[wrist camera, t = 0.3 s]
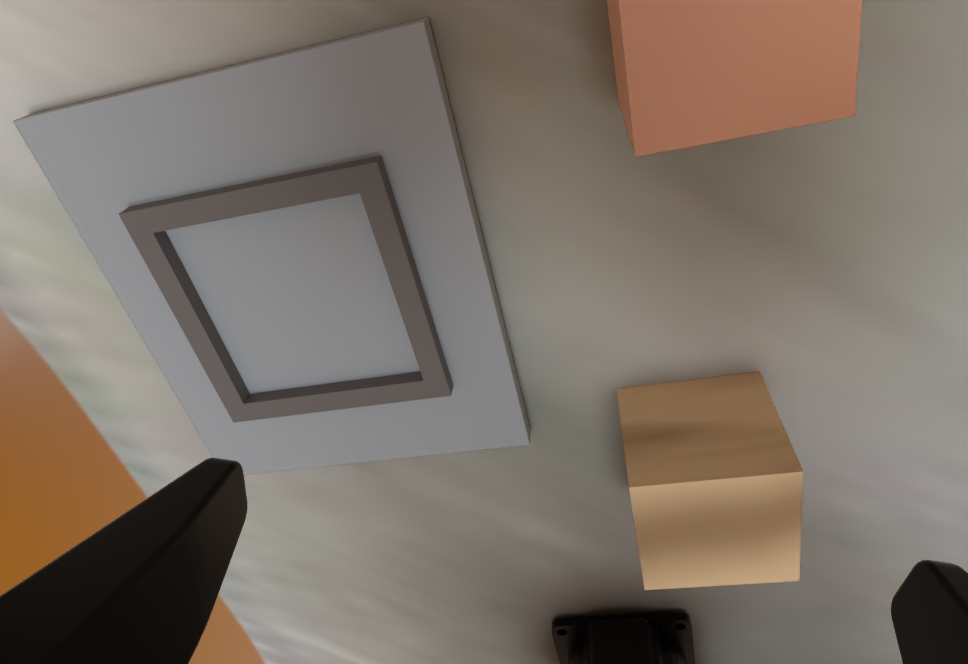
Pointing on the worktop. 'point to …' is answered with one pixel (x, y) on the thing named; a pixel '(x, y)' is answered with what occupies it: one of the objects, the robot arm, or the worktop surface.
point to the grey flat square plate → (298, 251)
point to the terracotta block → (731, 67)
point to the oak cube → (711, 483)
